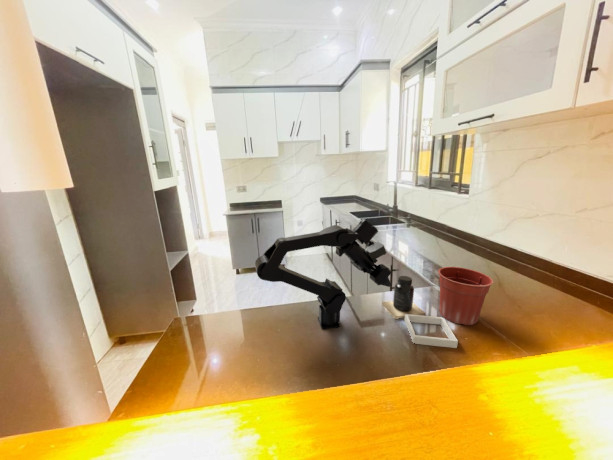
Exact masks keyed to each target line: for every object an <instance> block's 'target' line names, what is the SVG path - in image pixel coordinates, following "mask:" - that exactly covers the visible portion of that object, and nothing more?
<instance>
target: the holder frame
mask: <svg viewBox="0 0 613 460" xmlns="http://www.w3.org/2000/svg"><path fill="white" fill-rule="evenodd" d="M403 319H404V320H403V321H404V324H405V325H407V326H406V329H407V328H408V329H407V331H409V332H408V333H410V334H409V337H410V336H411V337H410V340H411V339H412V340H411V343H412V342H413V343H412V344H414V343H415V345H424V346H431V347H432V346H435V347H442V348H453V349H457V347H458V343H459V340H458V339H457V337H456V336H455V334H454V333H453V331H452V329H451V327H450V326H449V325H448V323H447V322H446V321H447V320H446V319H445V318H444V317H443V316H442V317H441V316H431V315H425V316H422V315H411V314H405V318H403ZM410 321H411V322H410ZM412 323H420V324H431V325H438V326H439V325H440V326H441V328H442V330H443V331H444V333H445V335H446V336H447V338H445V337H437V336H436V337H435V336H426V335H417V334H416V333H415V330H414V327H413V325H412Z"/></svg>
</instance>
